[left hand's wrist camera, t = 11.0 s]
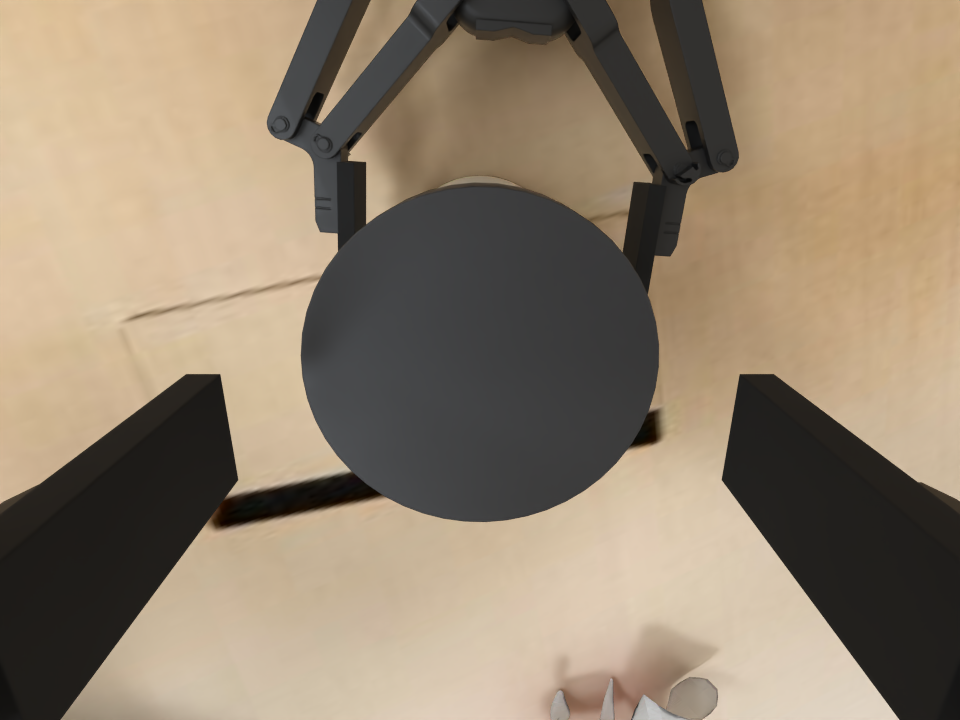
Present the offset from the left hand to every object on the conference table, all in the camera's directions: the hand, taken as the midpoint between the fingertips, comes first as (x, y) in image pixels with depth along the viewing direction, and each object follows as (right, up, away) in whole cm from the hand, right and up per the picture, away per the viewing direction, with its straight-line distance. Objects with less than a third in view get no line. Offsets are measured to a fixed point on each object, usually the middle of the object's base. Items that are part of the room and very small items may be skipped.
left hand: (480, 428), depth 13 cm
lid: (0, +1, +4) cm, 4 cm away
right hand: (0, +4, +15) cm, 15 cm away
